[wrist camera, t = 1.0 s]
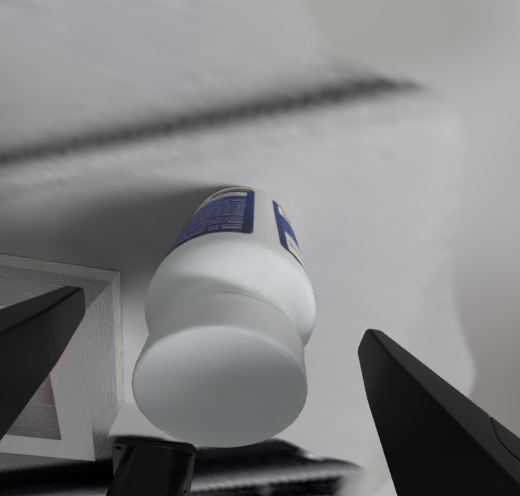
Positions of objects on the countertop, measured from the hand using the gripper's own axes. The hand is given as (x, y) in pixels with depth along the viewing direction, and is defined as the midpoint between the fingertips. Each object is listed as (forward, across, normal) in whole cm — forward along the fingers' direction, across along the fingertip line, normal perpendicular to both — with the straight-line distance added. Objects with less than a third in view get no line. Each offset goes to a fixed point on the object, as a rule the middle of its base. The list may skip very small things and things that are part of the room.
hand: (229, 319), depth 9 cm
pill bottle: (+7, 0, 0) cm, 7 cm away
